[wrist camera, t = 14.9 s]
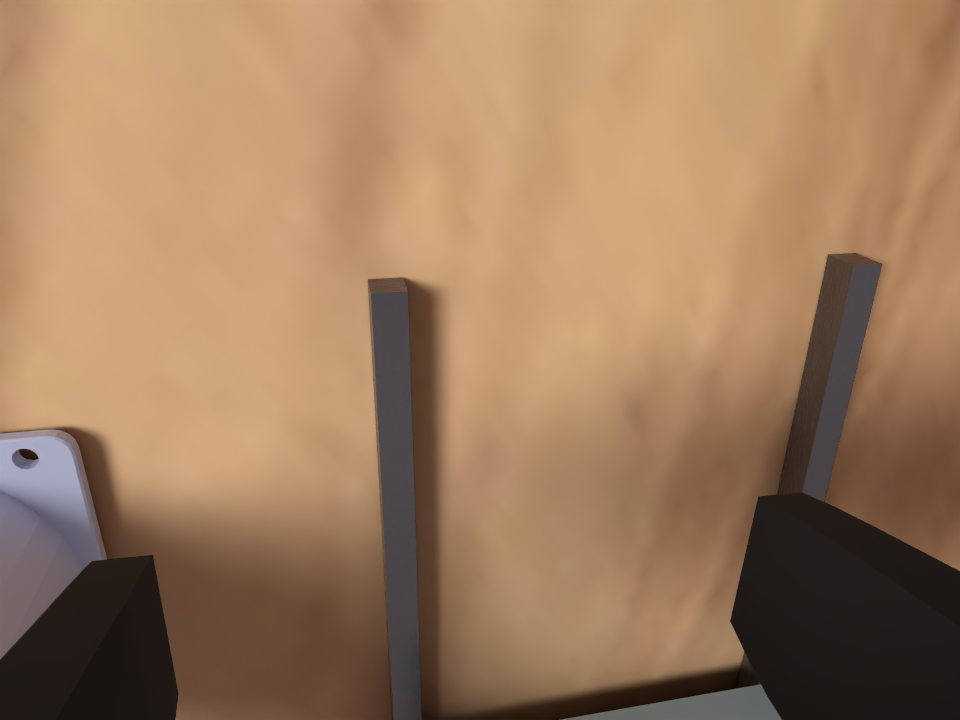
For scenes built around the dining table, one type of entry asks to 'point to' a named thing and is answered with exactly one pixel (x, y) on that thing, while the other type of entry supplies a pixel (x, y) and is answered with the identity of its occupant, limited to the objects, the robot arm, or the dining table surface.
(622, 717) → the cart
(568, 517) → the dining table surface
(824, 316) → the rail
